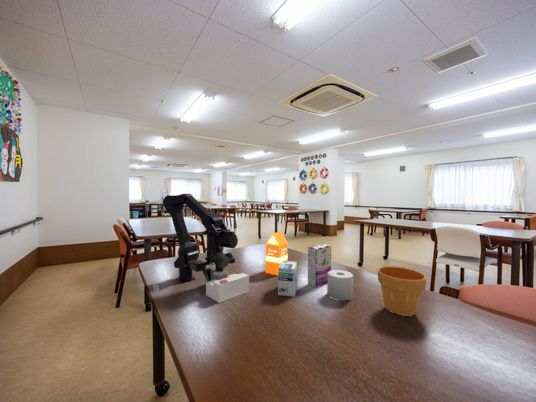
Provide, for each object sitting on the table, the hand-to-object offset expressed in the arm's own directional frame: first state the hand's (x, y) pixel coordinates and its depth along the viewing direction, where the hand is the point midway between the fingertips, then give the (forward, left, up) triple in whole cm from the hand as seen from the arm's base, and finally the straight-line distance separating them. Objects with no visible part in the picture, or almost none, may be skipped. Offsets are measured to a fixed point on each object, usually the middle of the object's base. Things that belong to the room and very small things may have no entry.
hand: (213, 282), depth 99 cm
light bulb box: (+25, +19, -2) cm, 31 cm away
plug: (+3, 0, -1) cm, 3 cm away
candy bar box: (+29, +36, -2) cm, 46 cm away
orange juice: (+6, +33, -2) cm, 33 cm away
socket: (+11, 0, -1) cm, 11 cm away
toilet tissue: (+41, +31, -2) cm, 52 cm away
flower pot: (+62, +34, -2) cm, 71 cm away
